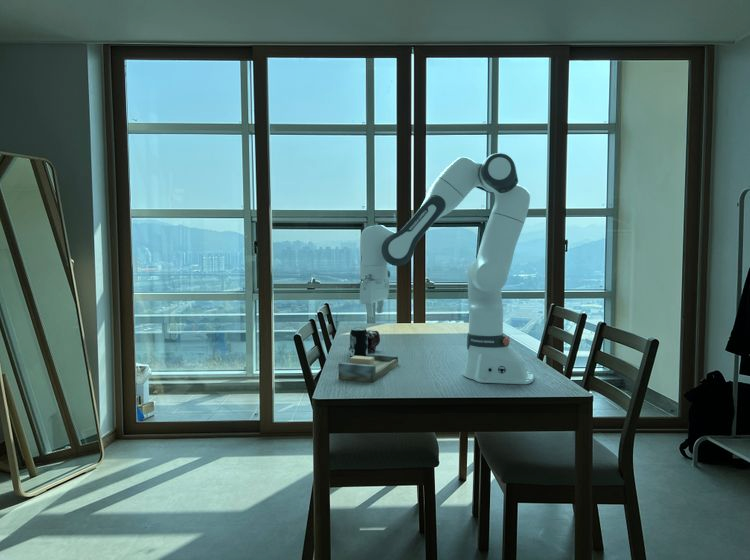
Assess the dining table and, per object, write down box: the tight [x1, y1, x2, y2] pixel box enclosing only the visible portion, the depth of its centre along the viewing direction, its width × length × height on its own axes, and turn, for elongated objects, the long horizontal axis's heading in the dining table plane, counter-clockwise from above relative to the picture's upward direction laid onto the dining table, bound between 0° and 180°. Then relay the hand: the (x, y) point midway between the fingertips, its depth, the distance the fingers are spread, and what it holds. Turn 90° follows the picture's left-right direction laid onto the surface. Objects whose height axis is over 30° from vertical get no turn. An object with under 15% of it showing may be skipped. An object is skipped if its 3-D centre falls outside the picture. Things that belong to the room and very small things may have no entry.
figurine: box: [348, 329, 381, 353], centre depth 208 cm, size 10×10×18 cm
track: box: [338, 353, 399, 383], centre depth 178 cm, size 12×26×5 cm, turn 160°
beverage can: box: [349, 327, 369, 359], centre depth 195 cm, size 7×7×12 cm
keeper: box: [349, 356, 374, 365], centre depth 171 cm, size 7×4×5 cm, turn 70°
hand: (375, 314), depth 175 cm, fingers open, 8 cm apart
